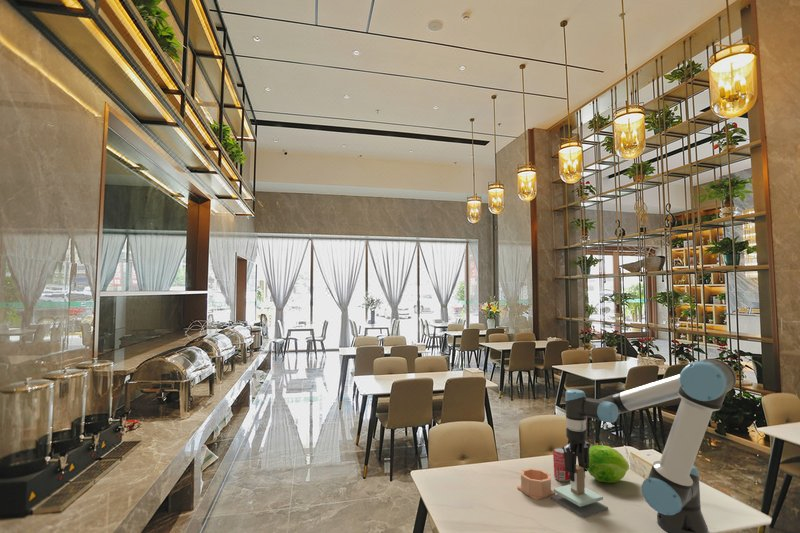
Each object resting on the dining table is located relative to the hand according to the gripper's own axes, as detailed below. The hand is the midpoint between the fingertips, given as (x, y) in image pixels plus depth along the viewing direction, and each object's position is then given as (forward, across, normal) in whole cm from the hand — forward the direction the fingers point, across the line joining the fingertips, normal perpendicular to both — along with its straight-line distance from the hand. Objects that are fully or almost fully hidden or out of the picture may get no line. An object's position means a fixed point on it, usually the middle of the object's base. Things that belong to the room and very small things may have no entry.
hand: (577, 487), depth 159 cm
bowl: (+6, +8, -15) cm, 18 cm away
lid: (+3, 0, 0) cm, 3 cm away
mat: (+6, 0, 0) cm, 6 cm away
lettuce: (+6, -30, -9) cm, 32 cm away
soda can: (+7, -12, -19) cm, 23 cm away
